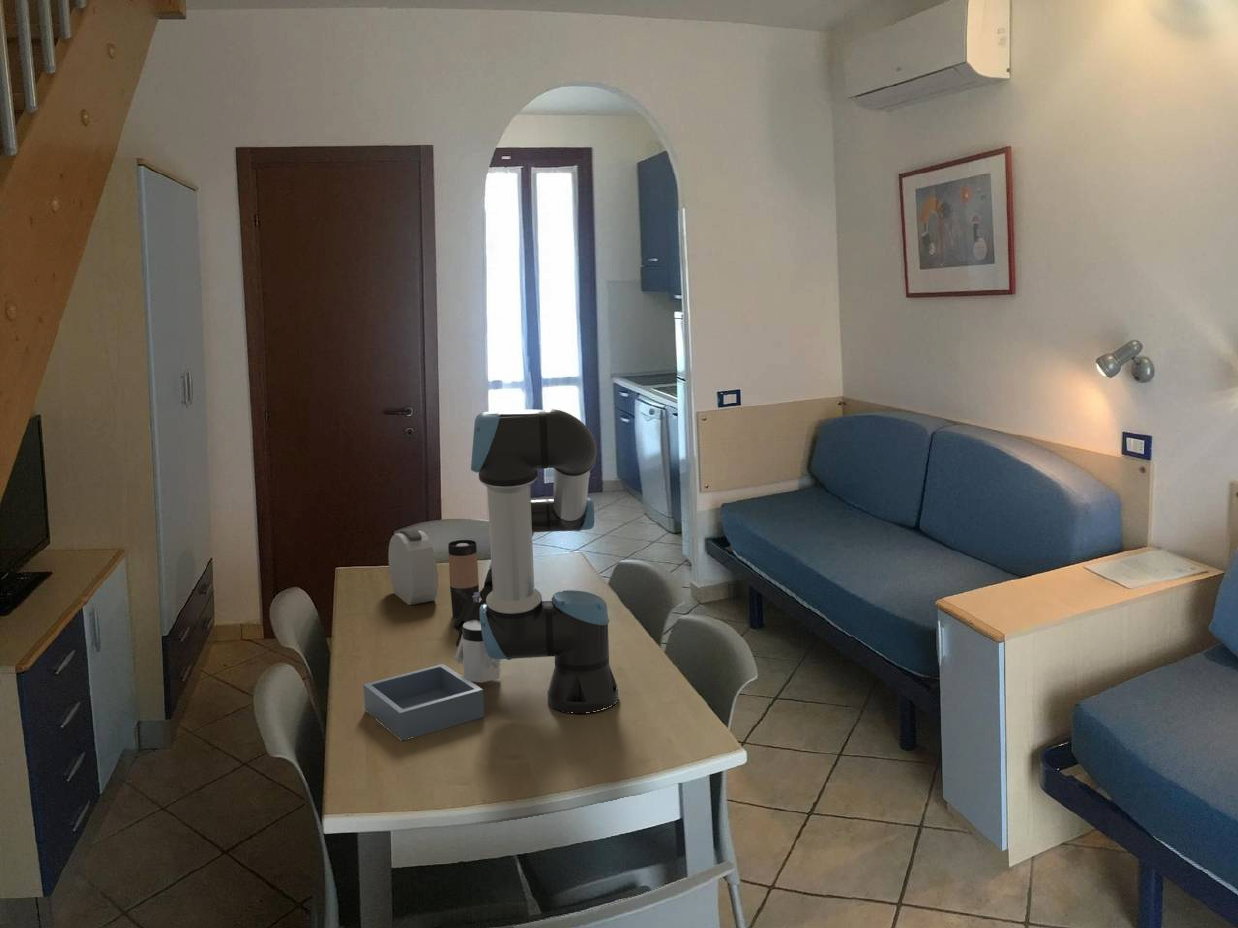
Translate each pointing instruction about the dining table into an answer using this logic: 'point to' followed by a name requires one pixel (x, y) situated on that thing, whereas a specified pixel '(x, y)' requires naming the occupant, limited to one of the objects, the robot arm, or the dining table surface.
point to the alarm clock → (413, 567)
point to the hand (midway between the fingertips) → (476, 662)
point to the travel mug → (462, 573)
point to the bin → (423, 701)
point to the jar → (477, 655)
